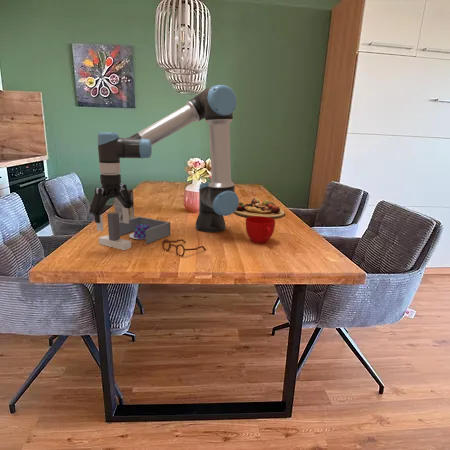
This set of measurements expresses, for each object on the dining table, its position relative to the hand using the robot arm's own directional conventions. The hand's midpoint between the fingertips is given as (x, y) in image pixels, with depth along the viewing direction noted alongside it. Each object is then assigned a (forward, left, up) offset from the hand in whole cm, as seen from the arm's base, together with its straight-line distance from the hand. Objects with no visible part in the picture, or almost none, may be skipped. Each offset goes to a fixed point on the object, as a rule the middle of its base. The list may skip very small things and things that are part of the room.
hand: (113, 226), depth 129 cm
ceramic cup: (-49, -38, -8) cm, 63 cm away
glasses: (-26, -12, -9) cm, 30 cm away
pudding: (0, -16, -9) cm, 19 cm away
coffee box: (+26, -32, -8) cm, 42 cm away
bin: (0, -17, -8) cm, 19 cm away
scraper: (0, 0, -8) cm, 8 cm away
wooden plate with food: (-26, -91, -9) cm, 95 cm away
